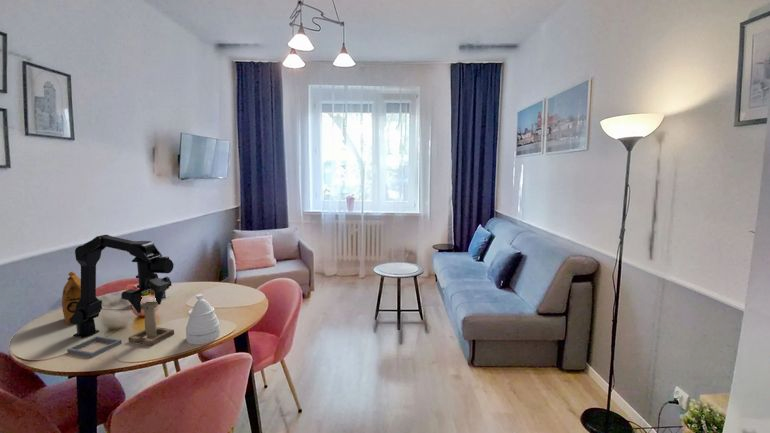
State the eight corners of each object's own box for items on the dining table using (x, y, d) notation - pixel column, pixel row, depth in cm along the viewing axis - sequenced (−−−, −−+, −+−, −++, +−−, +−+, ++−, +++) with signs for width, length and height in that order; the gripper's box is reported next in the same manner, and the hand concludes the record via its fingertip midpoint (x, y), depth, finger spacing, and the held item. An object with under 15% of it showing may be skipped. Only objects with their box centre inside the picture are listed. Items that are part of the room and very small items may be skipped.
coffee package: (61, 326, 163) (55, 279, 160) (65, 317, 173) (59, 272, 170) (89, 321, 169) (84, 275, 166) (91, 312, 179) (87, 269, 176)
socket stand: (128, 342, 149) (128, 337, 149) (152, 330, 160) (151, 326, 160) (151, 346, 146) (151, 341, 146) (174, 334, 157) (173, 329, 156)
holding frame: (67, 352, 140) (67, 349, 140) (98, 339, 152) (97, 335, 151) (92, 357, 137) (91, 353, 137) (121, 343, 148) (121, 339, 148)
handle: (158, 339, 152) (156, 305, 150) (141, 341, 150) (137, 307, 148) (161, 334, 156) (159, 301, 154) (144, 336, 154) (141, 302, 152)
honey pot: (182, 337, 154) (179, 296, 152) (213, 327, 163) (210, 289, 161) (193, 347, 145) (190, 304, 143) (225, 336, 155) (223, 296, 152)
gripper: (141, 280, 138) (144, 319, 140) (180, 267, 156) (183, 302, 158) (118, 278, 141) (122, 316, 143) (159, 265, 159) (162, 300, 161)
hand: (149, 308), depth 151 cm, fingers open, 9 cm apart
